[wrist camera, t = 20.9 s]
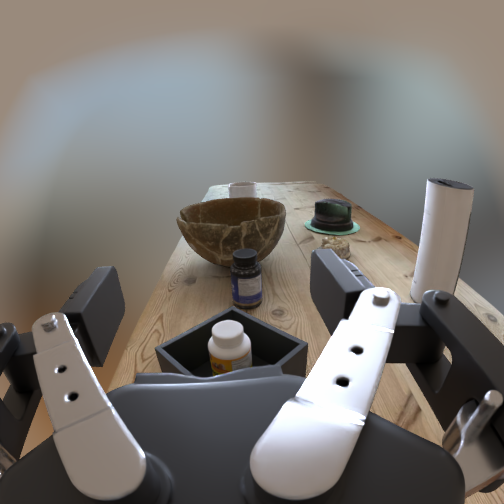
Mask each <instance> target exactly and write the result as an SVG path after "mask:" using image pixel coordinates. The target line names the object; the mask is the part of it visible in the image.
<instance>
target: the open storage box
mask: <svg viewBox="0 0 504 504" xmlns="http://www.w3.org/2000/svg"><path fill="white" fill-rule="evenodd" d="M225 320H233V321H237V322H239V323H240V324H241V325H242V326H243V332H244V333H245V334H246V335H247V336H248V337H249V339H250V342H251V355H252V367H259V366H268V365H276V364H280V365H281V369H282V373H283V374H289V375H296V376H300V377H305V375H306V364H307V353H308V343H307V342H304V341H302V340H300V339H298V338H296V337H294V336H292V335H290V334H288V333H286V332H284V331H281V330H279V329H277V328H275V327H273V326H271V325H269V324H267V323H265V322H263V321H261V320H259V319H257V318H255V317H253V316H251V315H249V314H247V313H245V312H243V311H241V310H239V309H237V308H235V307H233V306H231V307H230V308H228V309H226V310H224V311H222V312H221V313H219V314H217V315H215V316H213V317H212V318H210V319H208V320H206V321H204V322H202V323H201V324H199V325H197V326H195V327H193V328H191V329H189V330H188V331H186V332H184V333H182V334H180V335H178V336H176V337H174V338H172V339H171V340H169V341H167V342H165V343H163V344H161V345H159V346H157V347H155V351H156V354H157V358H158V361H159V364H160V367H161V370H162V373H175V374H182V375H188V376H195V377H203V378H208V377H212V376H213V373H212V367H211V361H210V356H209V350H208V342H209V340H210V338H211V337H212V328H213V326H214V325H215V324H217V323H218V322H221V321H225Z"/></svg>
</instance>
